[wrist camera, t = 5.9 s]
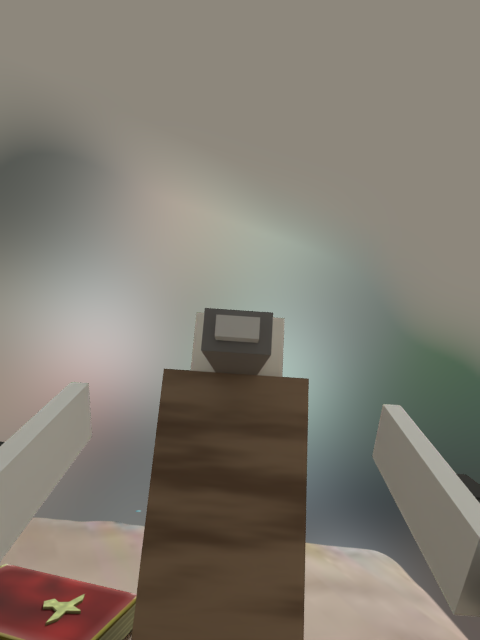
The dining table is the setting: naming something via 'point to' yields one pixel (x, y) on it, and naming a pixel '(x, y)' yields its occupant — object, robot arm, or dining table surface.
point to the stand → (226, 510)
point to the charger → (238, 342)
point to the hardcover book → (61, 608)
